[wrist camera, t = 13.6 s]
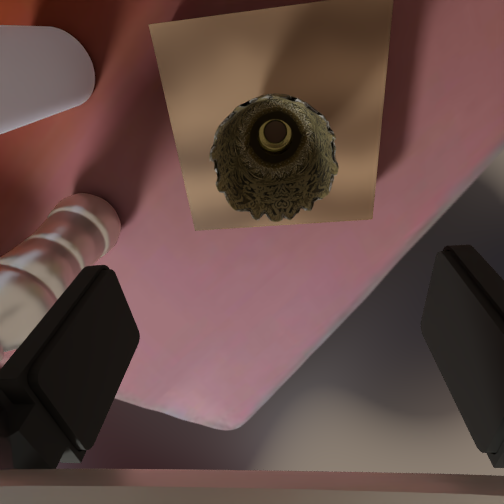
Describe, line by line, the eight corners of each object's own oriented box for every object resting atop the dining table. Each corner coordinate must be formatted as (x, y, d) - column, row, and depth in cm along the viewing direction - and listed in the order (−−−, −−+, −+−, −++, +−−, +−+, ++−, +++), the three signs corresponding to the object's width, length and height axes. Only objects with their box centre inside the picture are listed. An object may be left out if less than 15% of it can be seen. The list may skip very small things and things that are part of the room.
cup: (324, 173, 28) (339, 218, 21) (236, 182, 29) (223, 228, 22) (322, 70, 24) (339, 86, 17) (219, 85, 25) (197, 105, 18)
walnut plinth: (168, 25, 27) (148, 24, 23) (374, -2, 25) (394, -9, 21) (204, 207, 36) (195, 230, 31) (360, 196, 34) (372, 219, 30)
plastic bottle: (93, 174, 34) (-81, 309, 18) (140, 224, 37) (28, 381, 20) (54, 205, 37) (-134, 352, 20) (101, 250, 39) (-28, 410, 23)
